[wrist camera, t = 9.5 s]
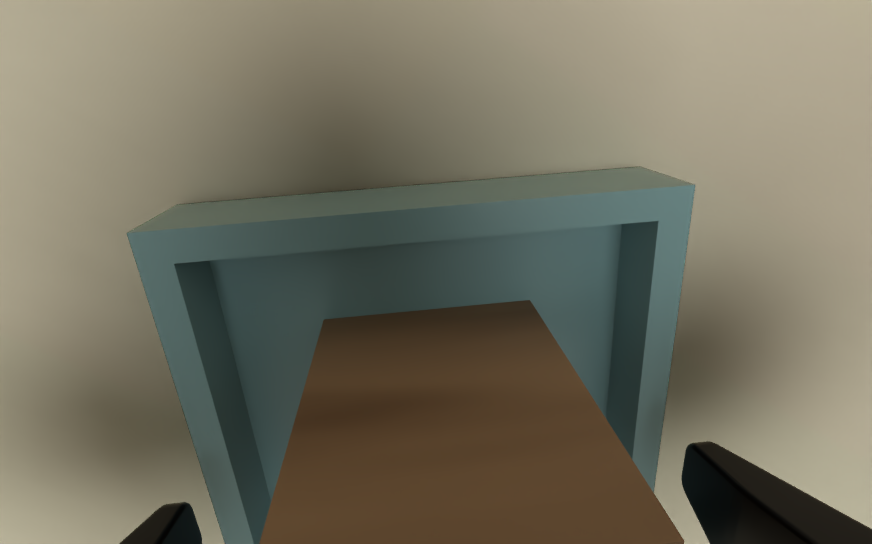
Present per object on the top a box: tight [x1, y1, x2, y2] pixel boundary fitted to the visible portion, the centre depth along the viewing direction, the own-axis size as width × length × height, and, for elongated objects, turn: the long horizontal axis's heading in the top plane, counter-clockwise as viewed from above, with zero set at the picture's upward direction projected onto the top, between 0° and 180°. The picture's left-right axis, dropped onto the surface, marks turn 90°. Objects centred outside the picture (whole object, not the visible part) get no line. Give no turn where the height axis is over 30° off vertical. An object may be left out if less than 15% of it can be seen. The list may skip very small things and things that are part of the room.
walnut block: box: [259, 300, 684, 544], centre depth 8 cm, size 4×4×6 cm
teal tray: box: [127, 167, 695, 544], centre depth 11 cm, size 10×10×2 cm
